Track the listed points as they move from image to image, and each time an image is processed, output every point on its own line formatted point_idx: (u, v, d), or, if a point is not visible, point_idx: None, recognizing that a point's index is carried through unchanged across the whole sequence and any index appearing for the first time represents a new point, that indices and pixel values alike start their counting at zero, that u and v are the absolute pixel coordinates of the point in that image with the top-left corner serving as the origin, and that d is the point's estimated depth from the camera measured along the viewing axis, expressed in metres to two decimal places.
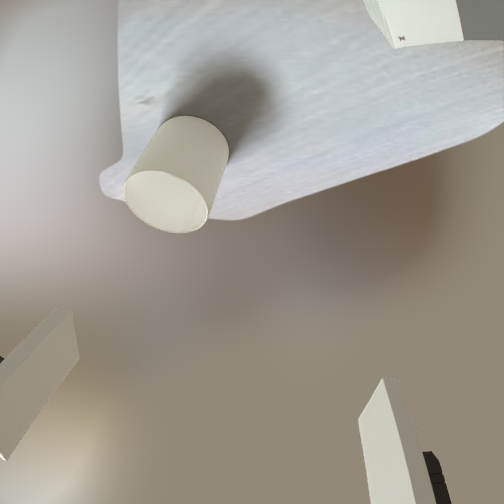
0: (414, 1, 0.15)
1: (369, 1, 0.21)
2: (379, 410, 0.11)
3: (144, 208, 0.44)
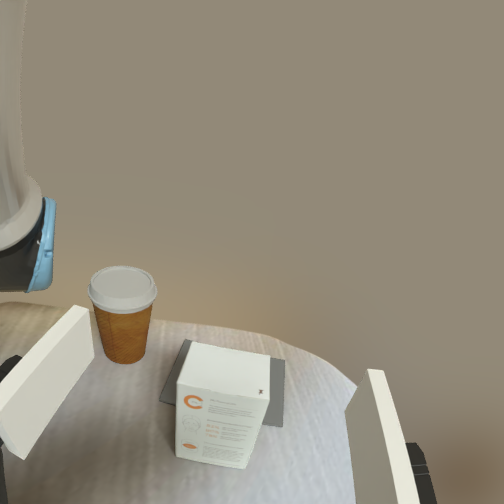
0: (229, 371, 0.28)
1: (225, 436, 0.28)
2: (364, 401, 0.11)
3: None
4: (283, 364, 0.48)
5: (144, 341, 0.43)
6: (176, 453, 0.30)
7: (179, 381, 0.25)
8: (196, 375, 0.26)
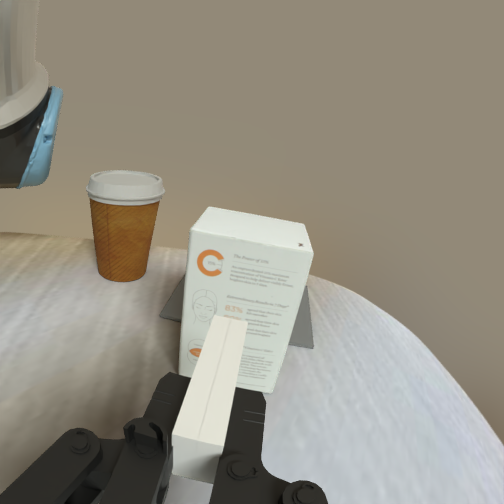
0: (258, 227, 0.23)
1: (249, 328, 0.23)
2: None
3: None
4: (305, 289, 0.43)
5: (146, 253, 0.38)
6: (179, 371, 0.25)
7: (193, 228, 0.20)
8: (216, 226, 0.22)
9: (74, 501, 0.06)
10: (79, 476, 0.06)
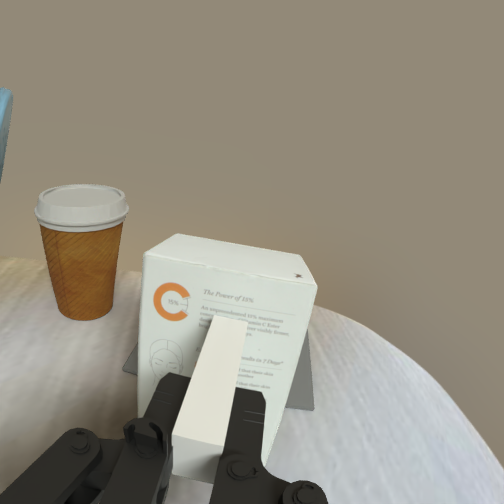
0: (238, 255, 0.17)
1: None
2: None
3: None
4: None
5: (109, 286, 0.30)
6: None
7: (148, 252, 0.14)
8: (180, 251, 0.15)
9: (74, 501, 0.06)
10: (79, 476, 0.06)
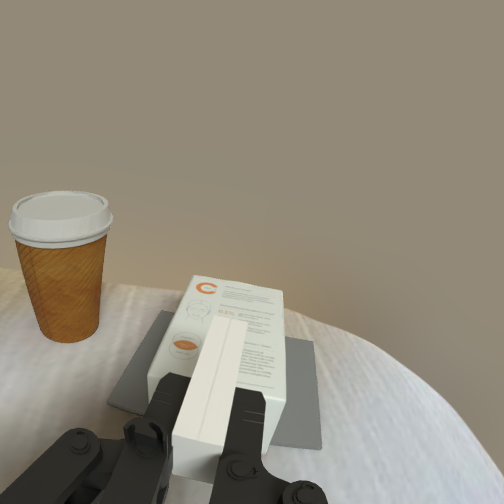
0: None
1: None
2: None
3: None
4: (311, 347, 0.32)
5: (93, 306, 0.26)
6: (151, 366, 0.17)
7: None
8: None
9: (74, 501, 0.06)
10: (79, 476, 0.06)
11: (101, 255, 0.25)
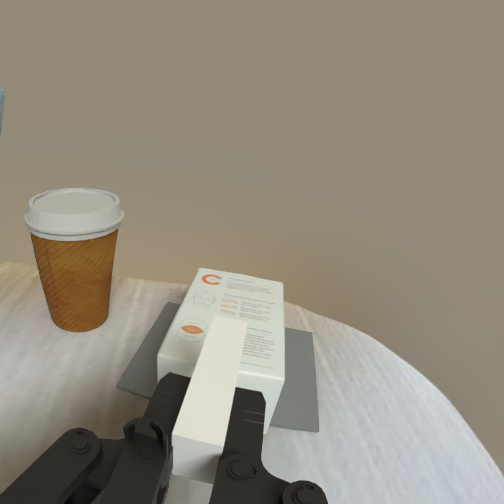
0: None
1: (245, 313, 0.24)
2: None
3: None
4: (310, 338, 0.33)
5: (104, 297, 0.28)
6: (161, 348, 0.19)
7: None
8: None
9: (74, 501, 0.06)
10: (79, 476, 0.06)
11: (112, 248, 0.27)
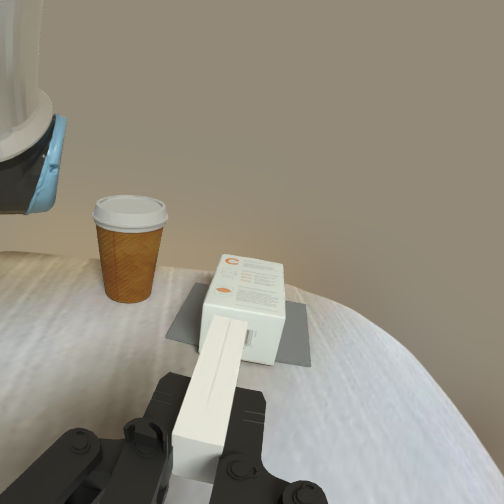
0: None
1: (257, 281, 0.36)
2: None
3: None
4: (304, 307, 0.45)
5: (151, 276, 0.40)
6: (205, 300, 0.31)
7: None
8: None
9: (74, 501, 0.06)
10: (79, 476, 0.06)
11: (160, 239, 0.39)
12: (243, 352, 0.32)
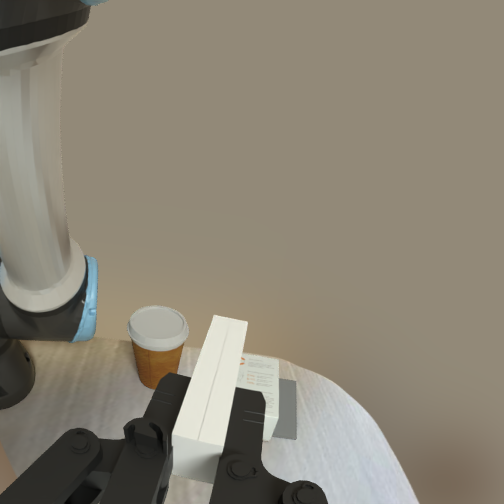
0: None
1: (259, 383, 0.46)
2: None
3: None
4: (295, 385, 0.55)
5: (176, 370, 0.49)
6: None
7: None
8: None
9: (74, 501, 0.06)
10: (79, 476, 0.06)
11: None
12: None
